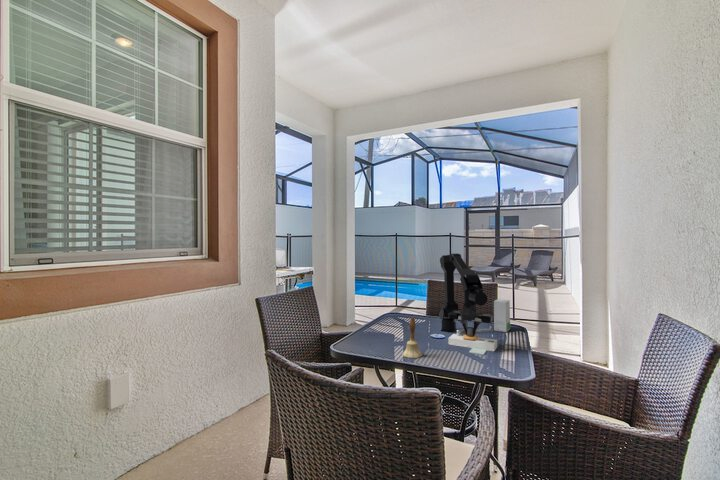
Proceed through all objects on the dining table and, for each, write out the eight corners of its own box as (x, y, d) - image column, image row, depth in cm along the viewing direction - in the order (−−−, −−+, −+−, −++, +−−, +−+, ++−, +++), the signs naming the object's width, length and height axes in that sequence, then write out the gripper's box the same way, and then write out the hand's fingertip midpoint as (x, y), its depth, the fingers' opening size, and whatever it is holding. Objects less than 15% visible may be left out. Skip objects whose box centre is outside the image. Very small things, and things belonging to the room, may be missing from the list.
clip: (457, 332, 164) (457, 328, 164) (455, 331, 166) (455, 327, 166) (492, 331, 166) (492, 327, 166) (490, 330, 168) (490, 326, 168)
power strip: (448, 344, 162) (448, 335, 162) (453, 340, 168) (453, 331, 168) (494, 351, 151) (494, 341, 151) (497, 346, 158) (497, 337, 158)
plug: (461, 346, 159) (461, 328, 159) (465, 342, 165) (465, 325, 164) (475, 348, 156) (475, 330, 156) (479, 344, 161) (479, 327, 161)
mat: (469, 352, 150) (469, 351, 150) (472, 348, 155) (472, 347, 155) (483, 355, 147) (483, 354, 147) (486, 350, 152) (486, 349, 152)
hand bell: (405, 350, 154) (405, 314, 153) (424, 353, 150) (423, 316, 150) (400, 356, 146) (399, 318, 146) (419, 359, 143) (419, 320, 142)
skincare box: (506, 332, 180) (506, 302, 180) (493, 330, 184) (492, 300, 184) (510, 329, 186) (510, 299, 186) (497, 327, 190) (497, 298, 190)
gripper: (444, 302, 158) (444, 336, 158) (488, 306, 148) (488, 343, 148) (451, 298, 167) (452, 330, 168) (493, 302, 158) (493, 336, 158)
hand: (470, 335), depth 160 cm, fingers closed on plug, 3 cm apart
